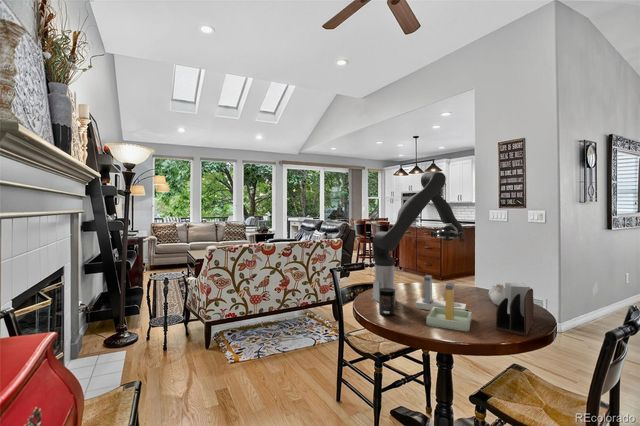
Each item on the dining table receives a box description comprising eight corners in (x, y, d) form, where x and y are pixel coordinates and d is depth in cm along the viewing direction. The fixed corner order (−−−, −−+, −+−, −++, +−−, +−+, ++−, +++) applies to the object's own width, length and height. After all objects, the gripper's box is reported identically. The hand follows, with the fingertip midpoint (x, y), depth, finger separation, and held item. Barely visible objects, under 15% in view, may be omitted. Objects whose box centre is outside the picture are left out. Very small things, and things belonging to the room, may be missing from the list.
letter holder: (533, 321, 133) (534, 286, 133) (526, 336, 118) (527, 297, 117) (505, 316, 139) (506, 282, 139) (495, 330, 124) (495, 292, 124)
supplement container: (394, 311, 145) (394, 288, 145) (395, 317, 138) (395, 292, 138) (378, 311, 146) (378, 287, 146) (379, 316, 139) (379, 291, 139)
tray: (469, 331, 122) (469, 323, 122) (426, 325, 129) (426, 317, 129) (471, 319, 135) (471, 311, 135) (432, 313, 142) (433, 306, 142)
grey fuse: (424, 308, 150) (424, 277, 149) (426, 305, 154) (426, 275, 154) (429, 309, 148) (430, 277, 148) (431, 306, 153) (432, 275, 153)
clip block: (416, 308, 150) (416, 300, 150) (419, 303, 157) (419, 296, 157) (464, 314, 141) (464, 307, 141) (466, 309, 148) (466, 302, 147)
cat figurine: (506, 288, 148) (497, 277, 162) (489, 296, 150) (481, 284, 164) (518, 306, 148) (507, 293, 162) (500, 314, 150) (491, 301, 164)
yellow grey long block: (445, 321, 130) (445, 285, 130) (447, 317, 135) (447, 282, 134) (452, 322, 129) (452, 286, 129) (453, 318, 133) (454, 283, 133)
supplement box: (530, 317, 137) (530, 287, 137) (510, 316, 138) (510, 286, 138) (523, 312, 144) (523, 282, 144) (504, 311, 146) (504, 282, 145)
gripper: (434, 225, 172) (428, 227, 157) (464, 225, 165) (461, 228, 151) (434, 239, 172) (428, 243, 157) (464, 241, 165) (461, 244, 151)
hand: (444, 235), depth 154 cm, fingers open, 8 cm apart
